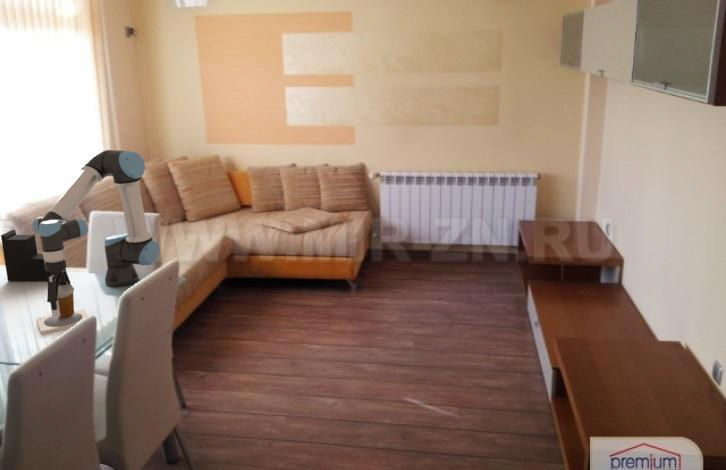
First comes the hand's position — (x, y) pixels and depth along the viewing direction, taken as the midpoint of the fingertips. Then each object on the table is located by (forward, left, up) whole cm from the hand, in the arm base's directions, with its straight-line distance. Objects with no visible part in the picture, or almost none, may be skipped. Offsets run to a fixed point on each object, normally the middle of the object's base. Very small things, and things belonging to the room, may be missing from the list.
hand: (62, 310), depth 241 cm
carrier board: (0, 0, -6) cm, 6 cm away
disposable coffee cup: (-1, -3, -3) cm, 5 cm away
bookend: (+3, -67, -6) cm, 67 cm away
